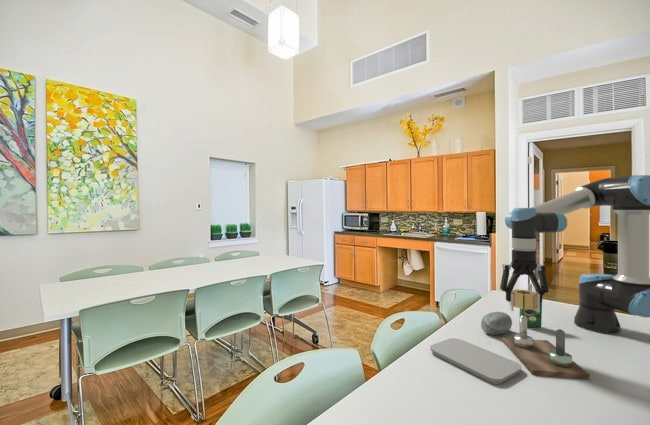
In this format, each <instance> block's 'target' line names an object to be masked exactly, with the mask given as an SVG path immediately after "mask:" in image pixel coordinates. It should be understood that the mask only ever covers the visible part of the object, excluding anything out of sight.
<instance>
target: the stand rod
mask: <svg viewBox="0 0 650 425" xmlns="http://www.w3.org/2000/svg"><path fill="white" fill-rule="evenodd" d="M519 318H520V325H519V333H516V334H514V335H513V338H514V345H515V346H517V347H519V348H523V349H532V348H533V340H534V338H533V337H532V336H529V335H528V327H527V317H526V316H524V315H522V316H520V315H519Z"/></svg>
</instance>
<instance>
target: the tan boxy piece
mask: <svg viewBox="0 0 650 425" xmlns="http://www.w3.org/2000/svg"><path fill="white" fill-rule="evenodd" d="M512 293H513V294H514V307H515V308H518V309H520V308H521V309H530V310H533V309H536V308H538V294H537V292H536V291H532V290H528V289H518V288H517V289H516V288H515V289H513V290H512Z"/></svg>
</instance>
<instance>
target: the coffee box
mask: <svg viewBox="0 0 650 425" xmlns="http://www.w3.org/2000/svg"><path fill="white" fill-rule="evenodd" d="M542 313H543V302H542V303H540V312H536V311H535V310H534V309H533V310H530V309H521V308H519V320H518V321H519V323H518V324H519V326H520V316H522V315H524V316H526V317H527V328H536V329H538V328H539V329H541V328H542V316H543V315H542Z"/></svg>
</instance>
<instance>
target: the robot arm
mask: <svg viewBox="0 0 650 425" xmlns="http://www.w3.org/2000/svg"><path fill="white" fill-rule="evenodd" d="M602 206H610V207H611V206H612V211H613V212H614V213H615V214H616V215H617V274H607V273H584V274H581V275H580V277H579V282H578V285H579V286H578V287H579V288H578V294H579V306H578V309H577V311H576V313H575V316H574V319H573V321H574V322H573V323H574V324H575V326H577V327H579V328H582V329H585V330H589V331H591V332H595V333H602V334H619V333H621V328H622V327H621V324H620V321H619V318H618V316H617V315H616V310H618V311H620V312H624V313H626V314H630V315H631V316H632V315H633V316H637V317H641V318H650V174H644V175H643V174H641V175H640V174H636V175H628V176H617V177H616V176H615V177H605V178H601V179H598V180H595V181H593V182H589V183H587V184H584V185H582V186H578V187H576V188H575V189H573V191H572V192H569V193H567V194H564V195H561V196H559V197H556V198H553V199H551V200H548V201H544V202H542V203H540V204H537V205H535V206H532V207H515V208H513V209H512V211H510V212H508V213H507V214H506V215H505V217H504V223H505V226H506V227H508V229H510V230H511V248H512V249H511V262H510V263H503V264H502V276H501V280H500V287H499V290H501V291H502V292H505V300H506V302H507V304H508V305H507V307H508V308H507V309H508V310H509V311H511V312H514V310H515V309H514V294H513V293H512V290H514V288H515V285H516V284H517V281H518V280H519V278H520V276H525V275H526V276H528V277H529V280H530V281H531V283H532V285H533V288H534V290H535V293H537V294H538V308H536V309H534V310H535V311H536V312H540V303H542V304H543V296H544V295H545V293H546V294H548V293H549V287H548V286H549V285H548V282H547V276H546V270H547V267H546V265H543V264H537V262H536V261H537V251H536V249H537V234H543V233H544V234H546V233H547V234H548V233H553V234H555V233H562V232H564V231H565V230H566V229H567V227H568V218H567V216H566V215H567V214H570V213H572V212H576V211H578V210H581V209H589V208H594V207H602ZM511 268H512V269H513V272H512V273H511V277H510V270H511ZM535 270H537V273H538V279H539V281H538V279H537V276H536V274H535ZM509 277H510V278H509Z"/></svg>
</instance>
